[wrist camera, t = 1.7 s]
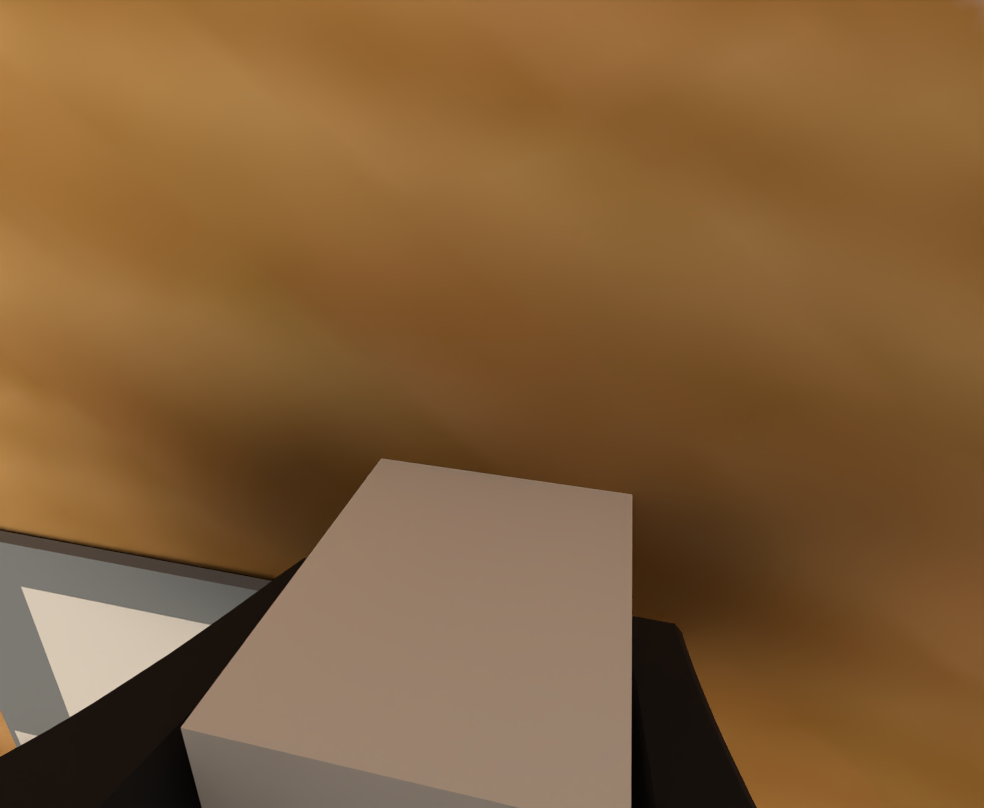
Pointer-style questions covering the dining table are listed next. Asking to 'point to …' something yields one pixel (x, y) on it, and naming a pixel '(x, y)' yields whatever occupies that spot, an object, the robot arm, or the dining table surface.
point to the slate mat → (93, 623)
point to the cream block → (436, 656)
